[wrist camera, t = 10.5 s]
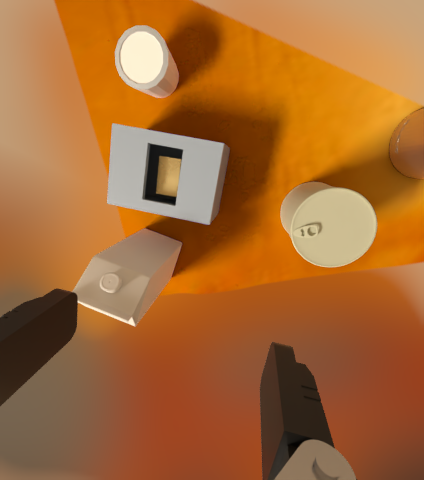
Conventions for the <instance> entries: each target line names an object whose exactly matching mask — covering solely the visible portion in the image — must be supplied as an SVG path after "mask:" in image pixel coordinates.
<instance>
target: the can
mask: <svg viewBox="0 0 424 480" xmlns="http://www.w3.org/2000/svg"><path fill="white" fill-rule="evenodd" d="M280 216H281V222H282V225H283V227H284V228H285V230H286V231H287V232H288V233H289V235H290V237H291V239H292V242H293V245H294V247H295V249H296V250H297V252H298V253H299V254H300V255H301V256H302V257H303V258H304V259H306V260H307V261H309V262H310V263H313V264H315V265H318V266H322V267H339V266H343V265H346V264H349V263H351V262H353V261H355V260H357V259H358V258H360V257H361V256H362V255H363V254H364V253H365V252H366V251H367V250H368V249H369V247H370V246H371V244H372V242H373V241H374V238H375V235H376V231H377V217H376V213H375V211H374V209H373V207H372V205H371V204H370V202H369V201H368V200H367V199H366V198H365V197H364V196H362V195H361V194H359V193H358V192H356V191H353V190H351V189H347V188H339V187H333V186H330V185H328V184H325V183H322V182H307V183H304V184H301V185H299V186H297V187H295V188H294V189H293V190H291V191H290V192H289V193H288V195H287V196H286V197H285V199H284V201H283V203H282V206H281V212H280Z"/></svg>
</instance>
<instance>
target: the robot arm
mask: <svg viewBox="0 0 424 480" xmlns="http://www.w3.org/2000/svg"><path fill="white" fill-rule="evenodd" d="M389 154H390V159H391V161H392V163H393V166H394V167H395V168H396V169H397V170H398V171H399V172H400V173H402V174H403V175H405V176H407V177H410V178H416V179H424V108H422V109H420V110H417V111H415V112H413V113H412V114H410V115H409V116H407V117H406V118H405V119H404V120H403V121H402V122H401V123H400V124H399V125H398V126H397V128H396V129H395V131H394V133H393V135H392V137H391V141H390V145H389ZM77 303H78V296H77V294H76V293H74V292H70V291H66V290H61V289H54V290H53V291H51V292H50V293H48V294H46V295H44V296H43V297H39V298H36V299H33V300H30V301H27V302H24V303H23V304H21V305H19V306H17V307H16V308H14V309H13V310H12V311H9V312H7V313H6V314H4V315H2V317H1V318H0V406H1V405H2V404H3V403H4V402H5V401H6V400H7V399H9V397H11V396H12V395H13V394H14V393H15V392H16V391H17V390H18V389H19V388H20V387H21V386H22V385H23V384H24V383H25V382H27V380H28V379H30V378H31V377H32V376H33V375H34V374H35V373H36V372H37V371H38V370H39V369H40V368H41V367H42V366H43V365H45V364H46V363H47V362H48V361H49V360H50V359H51V358H52V357H53V356H54V355H55V354H56V353H57V352H58V351H59V350H60V349H62V348H63V347H64V346H65V345H66V344H67V343H68V342H69V341H70V340H71V338H72V337H73V335H74V333H75V331H76V327H77V305H78V304H77ZM260 407H261V408H260V409H261V443H262V474H263V475H262V476H263V480H357V479H356V477H355V474H354V472H353V470H352V468H351V466H350V465H349V463H348V462H347V461H346V459H345V458H344V457H343V456H342V455H341V454H340V453H339V452H338V451H337V450H336V449H335V447H334V444H333V441H332V438H331V434H330V431H329V427H328V423H327V420H326V417H325V413H324V410H323V406H322V403H321V399H320V396H319V393H318V392H317V386H316V382H315V379H314V376H313V375H312V374H311V372H310V371H309V369H308V368H307V367H306V365H305V364H301V363H297V362H296V360H295V355H294V351H293V348H292V347H291V346H287V345H283V344H279V343H275V342H272V343H271V345H270V349H269V352H268V356H267V360H266V363H265V366H264V370H263V373H262V377H261V384H260Z"/></svg>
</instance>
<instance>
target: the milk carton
mask: <svg viewBox="0 0 424 480" xmlns="http://www.w3.org/2000/svg"><path fill="white" fill-rule="evenodd" d="M181 247H182V242H180V241H177V240H175V239H172V238H169V237H167V236H164V235H162V234H159V233H156V232H154V231H151V230H149V229H146V228H144V229H142V230H140V231H138V232H136V233H135V234H133V235H131V236H129V237H127V238H126V239H124V240H122V241H120V242H118V243H117V244H115V245H113V246H111V247H109V248H108V249H106V250H104V251H102V252H100V253H99V254H97V255H95V256H94V257H93V258H92V260H91V262H90V263H89V265H88V267H87V268H86V270H85V272H84V273H83V275H82V277H81V278H80V280H79V282H78V283H77V285H76V287H75V288H74V290H73V292H74V293H76V294H77V296H78V303H81V304H82V305H84V306H86V307H88V308H91V309H93V310H96V311H98V312H101V313H103V314H106V315H108V316H111V317H113V318H116V319H118V320H121V321H123V322H125V323H128V324H130V325H133V326H136V325H137V324H138V322H139V321H140V320H141V318H142V317H143V315H144V314H145V313H146V311H147V310H148V309H149V307H150V306H151V305H152V303H153V302H154V301H155V299H156V298H157V297H158V295H159V294H160V293H161V291H162V290H163V289H164V287H165V286H166V284H167V283H168V282H169V280H170V279H171V277H172V274H173V271H174V268H175V265H176V262H177V259H178V256H179V253H180V250H181Z"/></svg>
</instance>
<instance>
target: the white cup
mask: <svg viewBox="0 0 424 480" xmlns="http://www.w3.org/2000/svg"><path fill="white" fill-rule="evenodd" d="M115 65H116V67H117V70H118V73H119V75H120V77H121V78H122V79H123V80H124V81H125V83H126V84H127V85H129V86H131V87H133V88H135V89H137V90H139V91H142V92H144V93H147V94H149V95H151V96H154V97H156V98H165V97H167V96H169V95H171V94H172V93H173V92H174V90H175V89H176V87H177V84H178V82H179V72H178V69H177V66H176V64H175V62H174V59H173V57H172V55H171V53H170V51H169V49H168V47H167V45H166V43H165V41H164V39H163V38H162V37H161V35H160V34H159V33H158V32H157V31H156V30H154V29H152V28H150V27H148V26H134V27H132V28H130V29H128V30H126V31H125V32H124V34H123V35H122V36H121V37H120V39H119V40H118V43H117V47H116V50H115Z"/></svg>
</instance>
